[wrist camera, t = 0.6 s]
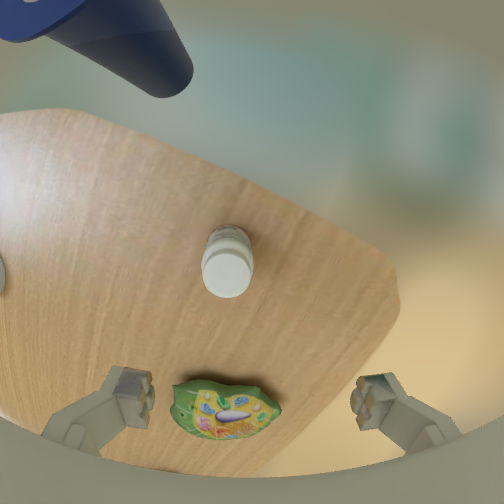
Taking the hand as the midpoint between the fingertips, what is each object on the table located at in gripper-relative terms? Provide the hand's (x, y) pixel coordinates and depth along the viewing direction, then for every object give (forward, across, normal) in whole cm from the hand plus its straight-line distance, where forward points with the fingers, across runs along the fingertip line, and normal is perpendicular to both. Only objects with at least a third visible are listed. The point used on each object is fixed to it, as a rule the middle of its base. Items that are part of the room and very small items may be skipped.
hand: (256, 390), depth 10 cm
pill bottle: (+22, +2, +1) cm, 23 cm away
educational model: (+23, +2, +25) cm, 34 cm away
